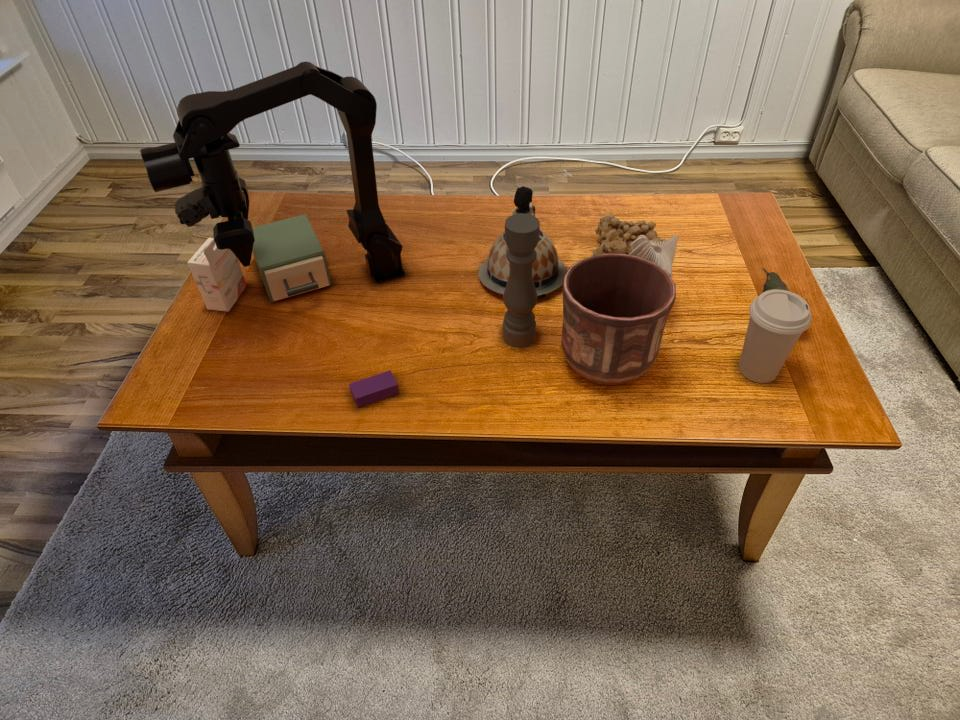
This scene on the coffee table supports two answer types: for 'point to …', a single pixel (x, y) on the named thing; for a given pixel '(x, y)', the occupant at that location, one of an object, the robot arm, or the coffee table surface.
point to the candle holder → (520, 280)
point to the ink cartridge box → (217, 276)
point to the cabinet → (285, 245)
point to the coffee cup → (772, 333)
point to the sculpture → (774, 282)
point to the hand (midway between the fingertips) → (245, 251)
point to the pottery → (614, 316)
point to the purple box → (374, 388)
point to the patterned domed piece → (544, 268)
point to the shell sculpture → (656, 251)
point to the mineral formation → (622, 235)
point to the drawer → (296, 277)
